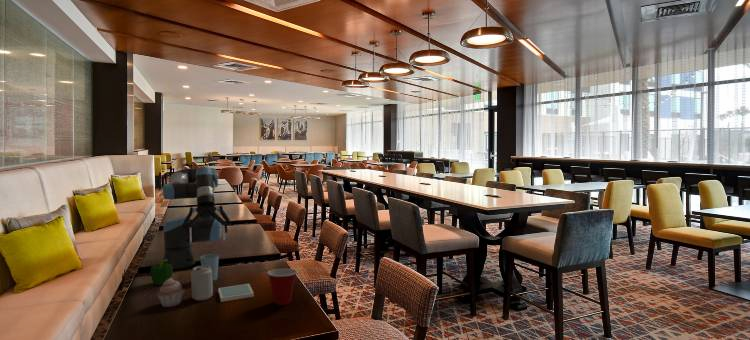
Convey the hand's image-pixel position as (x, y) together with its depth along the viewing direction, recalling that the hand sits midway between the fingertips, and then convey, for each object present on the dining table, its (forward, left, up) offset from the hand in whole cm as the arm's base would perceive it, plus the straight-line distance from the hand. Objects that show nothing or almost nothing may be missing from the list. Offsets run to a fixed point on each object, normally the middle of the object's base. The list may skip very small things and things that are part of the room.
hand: (207, 241), depth 180 cm
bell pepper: (-3, -19, -17) cm, 25 cm away
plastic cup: (+42, +23, -17) cm, 51 cm away
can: (+23, -4, -17) cm, 29 cm away
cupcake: (+25, -14, -17) cm, 34 cm away
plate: (+25, +8, -17) cm, 32 cm away
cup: (+1, 0, -17) cm, 17 cm away
